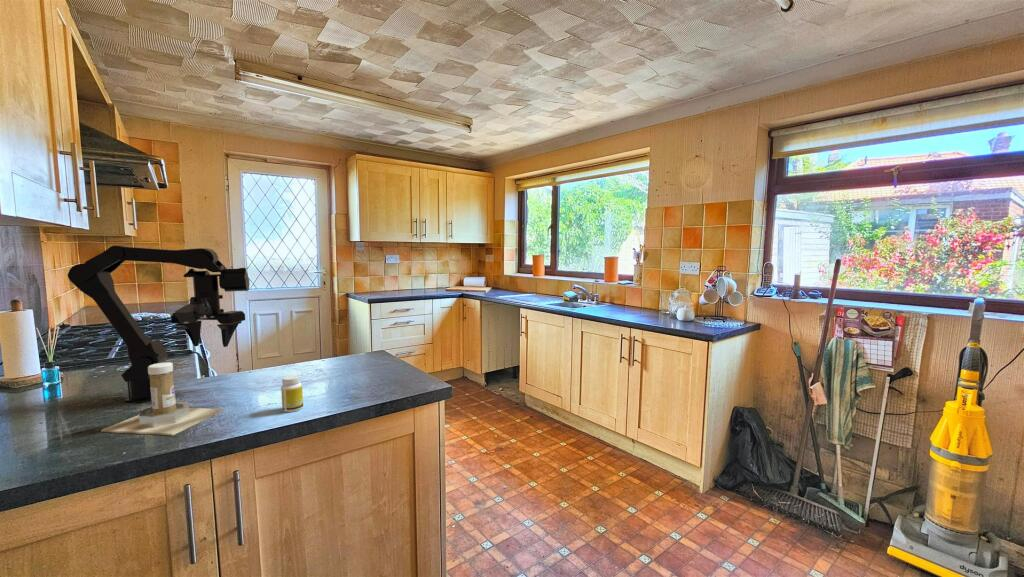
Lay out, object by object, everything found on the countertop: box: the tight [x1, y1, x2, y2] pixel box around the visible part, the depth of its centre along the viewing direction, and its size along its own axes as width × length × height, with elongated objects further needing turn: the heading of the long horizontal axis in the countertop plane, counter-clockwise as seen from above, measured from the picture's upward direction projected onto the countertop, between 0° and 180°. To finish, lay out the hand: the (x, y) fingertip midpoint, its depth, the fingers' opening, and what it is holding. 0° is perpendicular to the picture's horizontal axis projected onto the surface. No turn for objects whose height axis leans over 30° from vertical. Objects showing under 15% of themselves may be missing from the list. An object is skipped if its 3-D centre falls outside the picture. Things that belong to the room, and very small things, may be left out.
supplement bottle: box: [280, 374, 304, 413], centre depth 107 cm, size 5×5×8 cm
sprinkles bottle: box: [148, 361, 177, 415], centre depth 100 cm, size 5×5×14 cm
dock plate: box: [100, 407, 224, 436], centre depth 101 cm, size 18×14×1 cm
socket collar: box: [138, 401, 190, 427], centre depth 101 cm, size 9×9×2 cm
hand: (210, 346), depth 121 cm, fingers open, 9 cm apart
